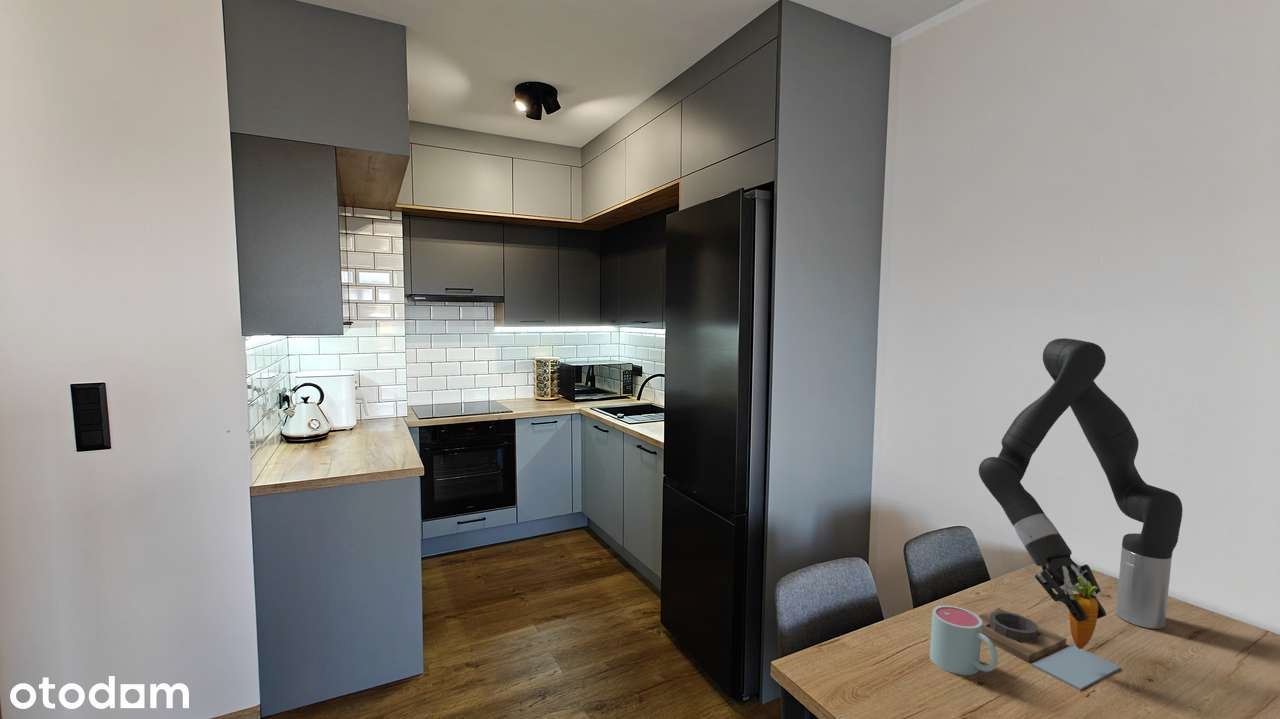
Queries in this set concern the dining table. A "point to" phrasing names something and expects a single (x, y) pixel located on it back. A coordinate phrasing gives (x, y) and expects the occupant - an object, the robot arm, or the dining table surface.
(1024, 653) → the ring stand
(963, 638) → the mug
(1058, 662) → the slate mat
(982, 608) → the dining table surface
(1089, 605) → the carrot
